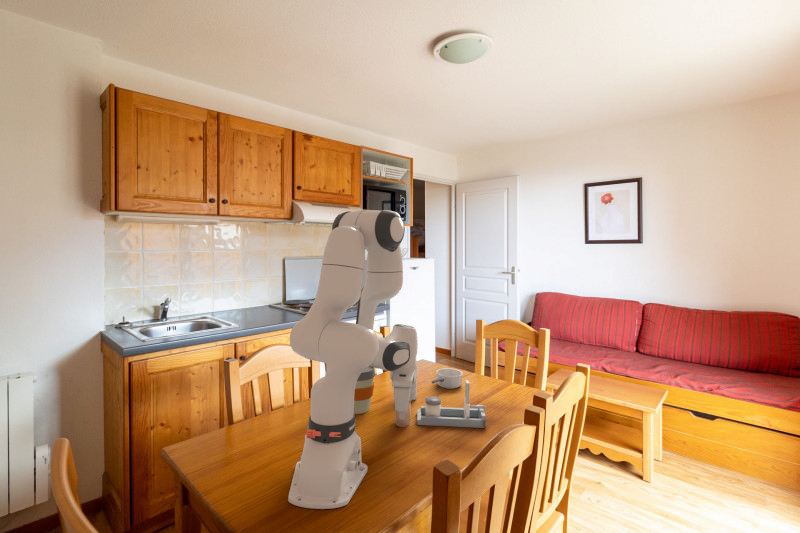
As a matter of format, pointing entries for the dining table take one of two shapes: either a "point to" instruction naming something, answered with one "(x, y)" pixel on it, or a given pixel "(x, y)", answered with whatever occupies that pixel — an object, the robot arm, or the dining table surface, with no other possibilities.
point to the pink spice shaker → (406, 421)
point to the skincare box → (413, 391)
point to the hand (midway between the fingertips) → (402, 414)
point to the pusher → (466, 401)
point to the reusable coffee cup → (364, 390)
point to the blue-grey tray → (453, 418)
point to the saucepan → (448, 378)
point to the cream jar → (432, 406)
